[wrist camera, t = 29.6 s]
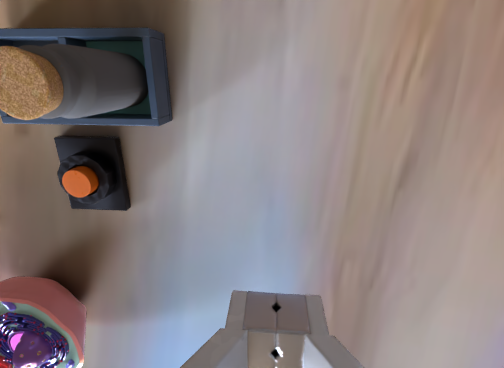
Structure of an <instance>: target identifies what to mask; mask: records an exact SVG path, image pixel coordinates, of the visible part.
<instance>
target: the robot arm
mask: <svg viewBox="0 0 504 368" xmlns="http://www.w3.org/2000/svg"><path fill="white" fill-rule="evenodd" d="M180 368H364V367H363V366H362V365H361V364H360V362H359V361H358V360H357V359H356V358H355V357H354V356H353V355H352V354H351V353H350V352H349V351H348V350H347V349H346V348H345V347H344V346H343V345H342V344H341V343H340V341H339V340H338V339H337V338H336V337H335V336H331V335H329V331H328V327H327V322H326V318H325V313H324V308H323V304H322V299H321V296H320V295H300V294H279V293H265V292H252V291H248V292H247V291H236V290H233V292H232V295H231V300H230V305H229V310H228V315H227V320H226V325H225V329H223V328H220V329H219V330H218V331H217V332H216V333H215V334H214V335H213V336H212V337H211V338H210V339H209V340H208V341H207V342H206V343H205V344H204V345H203V346H202V347H201V348H200V349H199V350H198V351H197V352H196V353H195V354H194V355H192V356H191V357H190V358H189V359H188V360H187V361H186V362H185V363H184V364H183V365H182V366H181V367H180Z"/></svg>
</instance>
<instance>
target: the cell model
mask: <svg viewBox="0 0 504 368" xmlns="http://www.w3.org/2000/svg"><path fill="white" fill-rule="evenodd" d="M86 315H87V310H86V307H85V306H84V305H83V303H81V302H80V301H79V300H78V299H76V298H75V297H74V295H73V294H72V293H71V292H70V291H69V290H67V289H66V288H65V287H64V286H62V285H61V284H60V283H58V282H56V281H54V280H51V279H47V278H39V277H25V276H21V277H13V278H9V279H6V280H3V281H1V282H0V368H81V367H82V365H83V363H84V352H85V335H86Z"/></svg>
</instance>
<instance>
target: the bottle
mask: <svg viewBox="0 0 504 368" xmlns="http://www.w3.org/2000/svg"><path fill="white" fill-rule="evenodd" d="M147 95H148V83H147V75H146V69H145V67H144V66H143V65H142V63H141V62H140V61H139V60H138V59H136V58H135V57H133V56H131V55H128V54H124V53H119V52H113V51H106V50H100V49H93V48H86V47H79V46H73V45H65V44H48V45H45V46H43V47H41V46H34V45H25V46H20V47H18V48H17V47H13V46H0V109H1V110H2V111H4V112H5V113H7V114H8V115H10V116H12V117H15V118H18V119H22V120H32V119H36V118H43V119H53V118H58V117H63V118H70V119H75V118H81V117H87V116H91V115H96V114H101V113H106V112H110V111H115V110H119V109H124V108H128V107H132V106H135V105H138V104H140V103H141V102H142V101H143V100H144V99H145V98H146V97H147Z"/></svg>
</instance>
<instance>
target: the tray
mask: <svg viewBox="0 0 504 368" xmlns="http://www.w3.org/2000/svg"><path fill="white" fill-rule="evenodd" d="M48 44H65V45H73V46H79V47H86V48H93V49H100V50H106V51H113V52H119V53H124V54H128V55H131V56H133V57H135V58H136V59H138V60H139V61H140V62H141V63H142V65H143V66H144V67H145V69H146V75H147V83H148V95H147V97H146V98H145V99H144V100H143V101H142V102H141V103H140V104H138V105H135V106H132V107H128V108H124V109H119V110H115V111H110V112H106V113H101V114H96V115H91V116H87V117H81V118H75V119H70V118H63V117H58V118H53V119H43V118H36V119H32V120H22V119H18V118H15V117H12V116H10V115H8V114H7V113H5V112H4V111H2V110H1V109H0V116H1V118H2V122H3V123H15V124H70V125H125V126H160V125H163V124H165V123H167V122H169V121H172V112H171V102H170V91H169V80H168V70H167V59H166V49H165V38H164V34H163V33H161V32H158V31H156V30H153V29H150V28H4V29H0V46H13V47H17V48H18V47H20V46H25V45H34V46H41V47H43V46H45V45H48Z"/></svg>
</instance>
